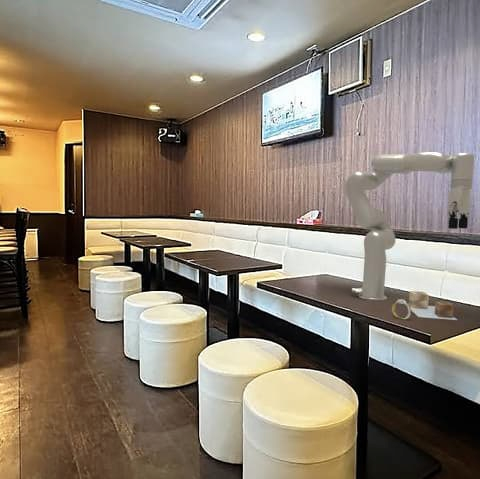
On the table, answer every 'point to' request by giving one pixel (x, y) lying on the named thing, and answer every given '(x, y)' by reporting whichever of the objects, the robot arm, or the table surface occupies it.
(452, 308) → the walnut block
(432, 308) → the board
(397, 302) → the bracelet
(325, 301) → the table surface
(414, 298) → the base block
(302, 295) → the table surface
